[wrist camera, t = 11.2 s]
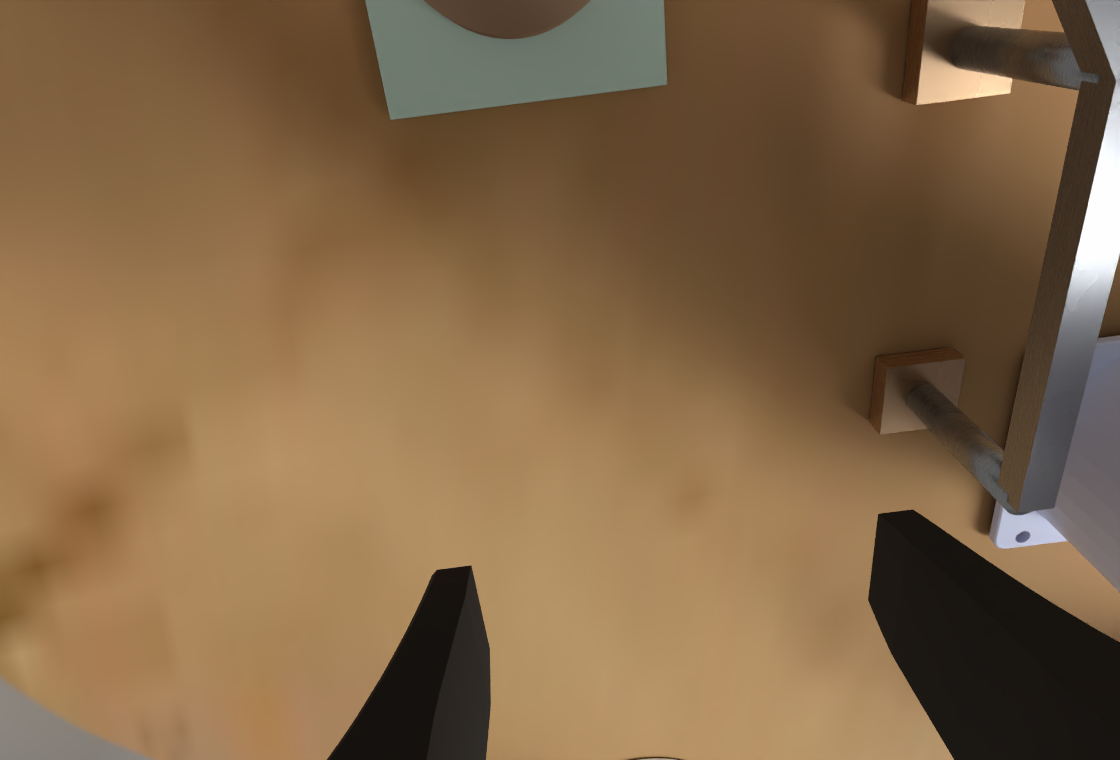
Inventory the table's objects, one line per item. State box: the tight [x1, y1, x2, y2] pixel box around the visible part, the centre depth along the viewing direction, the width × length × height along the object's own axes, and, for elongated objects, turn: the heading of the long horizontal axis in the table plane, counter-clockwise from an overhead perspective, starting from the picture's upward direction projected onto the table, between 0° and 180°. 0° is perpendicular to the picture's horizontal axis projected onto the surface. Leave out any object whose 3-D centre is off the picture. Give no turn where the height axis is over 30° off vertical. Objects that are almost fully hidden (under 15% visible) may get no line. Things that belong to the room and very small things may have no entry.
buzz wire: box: [869, 0, 1120, 515], centre depth 17 cm, size 7×20×6 cm, turn 6°
